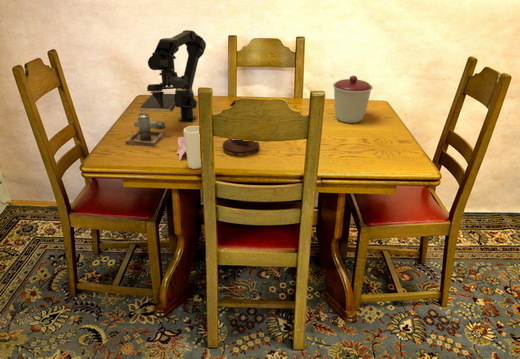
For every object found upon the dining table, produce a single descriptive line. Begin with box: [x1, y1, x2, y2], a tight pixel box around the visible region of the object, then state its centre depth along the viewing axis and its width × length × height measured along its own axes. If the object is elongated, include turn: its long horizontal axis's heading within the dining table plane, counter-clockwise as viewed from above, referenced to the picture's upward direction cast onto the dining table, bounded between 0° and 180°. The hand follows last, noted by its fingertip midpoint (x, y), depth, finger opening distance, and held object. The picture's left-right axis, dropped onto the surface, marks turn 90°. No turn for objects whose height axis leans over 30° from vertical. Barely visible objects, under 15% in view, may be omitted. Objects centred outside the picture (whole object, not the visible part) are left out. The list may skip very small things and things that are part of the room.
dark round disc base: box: [222, 99, 260, 157], centre depth 181 cm, size 15×15×20 cm
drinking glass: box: [183, 125, 202, 170], centre depth 168 cm, size 7×7×15 cm
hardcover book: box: [139, 93, 176, 112], centre depth 236 cm, size 16×23×2 cm
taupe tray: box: [124, 129, 166, 148], centre depth 194 cm, size 12×12×2 cm
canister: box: [332, 75, 373, 124], centre depth 213 cm, size 18×18×21 cm
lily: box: [176, 136, 186, 161], centre depth 179 cm, size 12×12×10 cm
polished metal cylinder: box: [137, 112, 152, 141], centre depth 191 cm, size 5×5×11 cm
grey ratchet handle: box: [133, 119, 166, 130], centre depth 207 cm, size 14×4×2 cm, turn 81°
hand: (170, 107), depth 195 cm, fingers open, 9 cm apart
